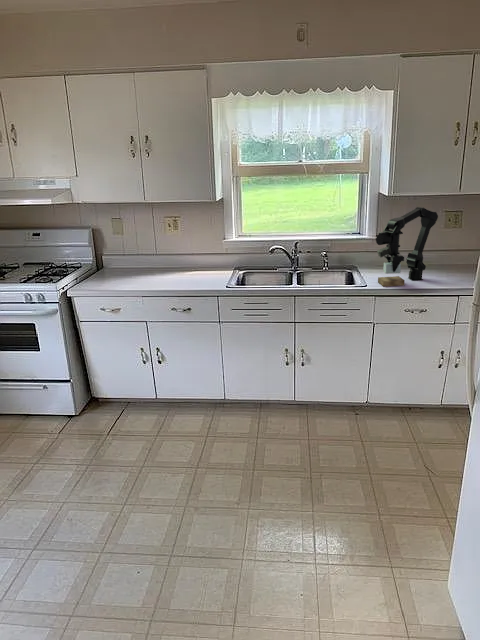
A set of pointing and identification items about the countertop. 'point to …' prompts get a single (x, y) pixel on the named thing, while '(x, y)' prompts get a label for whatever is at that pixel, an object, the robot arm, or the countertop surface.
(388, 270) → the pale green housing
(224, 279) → the countertop surface
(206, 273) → the countertop surface
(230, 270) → the countertop surface
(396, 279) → the walnut stand
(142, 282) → the countertop surface
